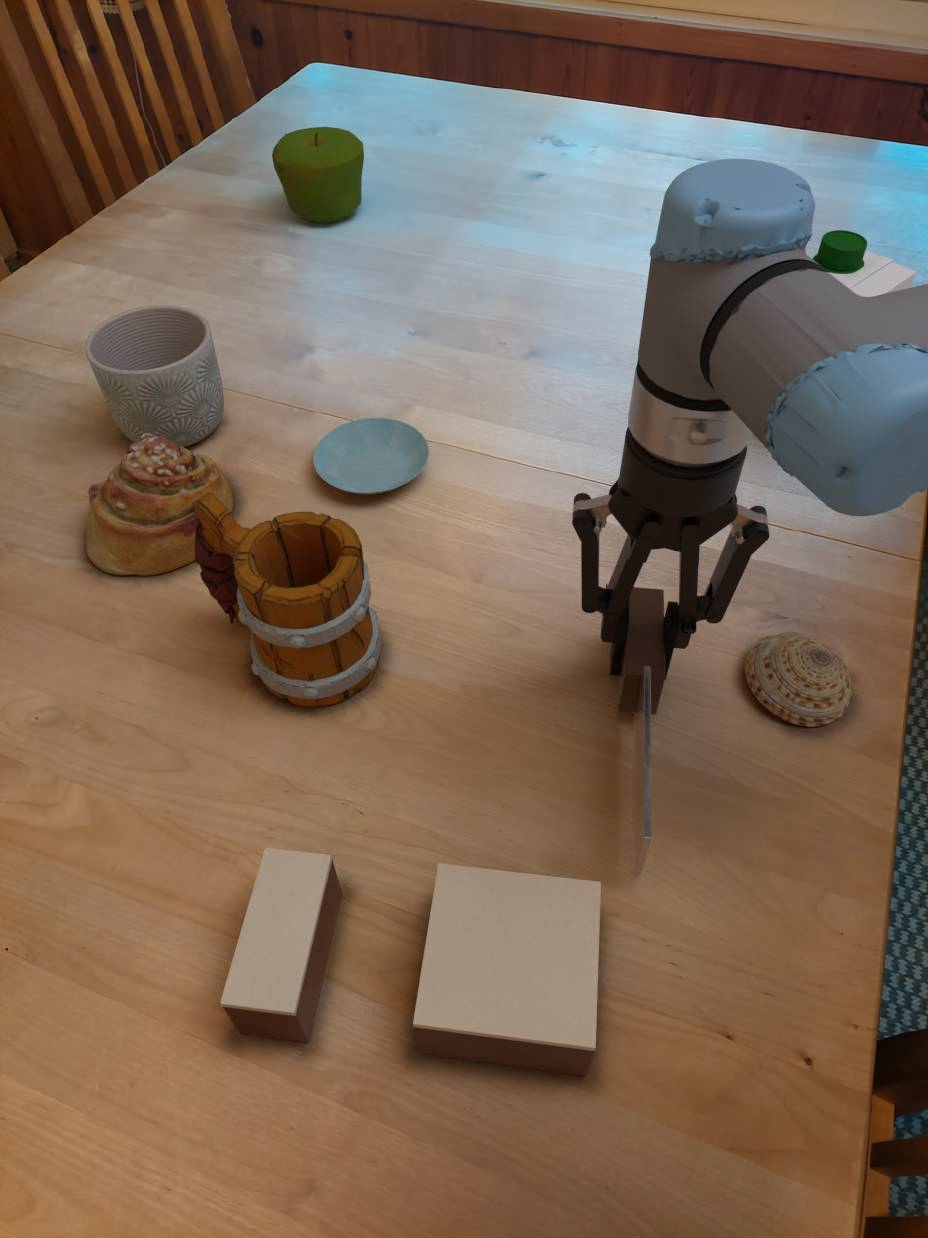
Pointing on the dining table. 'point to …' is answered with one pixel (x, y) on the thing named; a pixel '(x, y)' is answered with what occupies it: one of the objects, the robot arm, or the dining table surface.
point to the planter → (158, 373)
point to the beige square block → (510, 970)
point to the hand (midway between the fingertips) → (637, 664)
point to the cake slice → (283, 946)
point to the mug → (293, 599)
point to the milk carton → (861, 265)
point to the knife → (642, 703)
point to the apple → (320, 172)
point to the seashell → (798, 678)
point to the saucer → (371, 455)
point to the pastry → (151, 508)
